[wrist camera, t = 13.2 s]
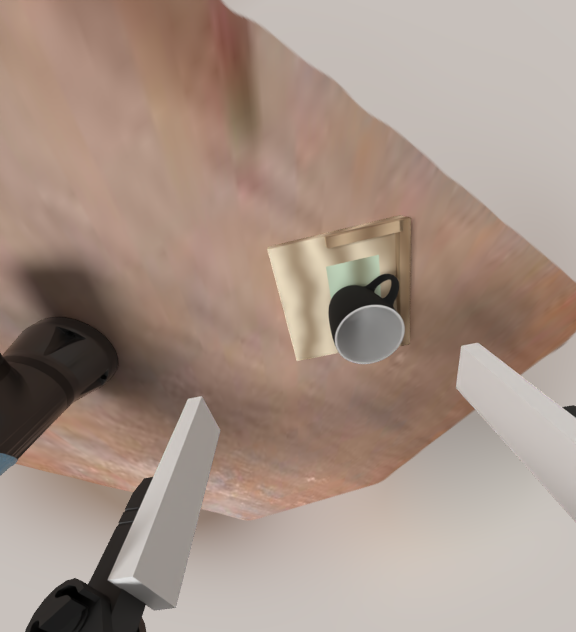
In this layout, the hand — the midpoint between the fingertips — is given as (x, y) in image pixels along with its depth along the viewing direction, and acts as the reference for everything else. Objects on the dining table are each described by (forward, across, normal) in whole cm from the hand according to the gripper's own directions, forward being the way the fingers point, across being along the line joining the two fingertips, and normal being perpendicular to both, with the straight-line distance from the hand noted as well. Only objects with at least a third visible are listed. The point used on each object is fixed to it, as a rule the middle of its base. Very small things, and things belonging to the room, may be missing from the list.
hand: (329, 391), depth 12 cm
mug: (+27, +8, -8) cm, 29 cm away
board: (+29, +6, -8) cm, 30 cm away
